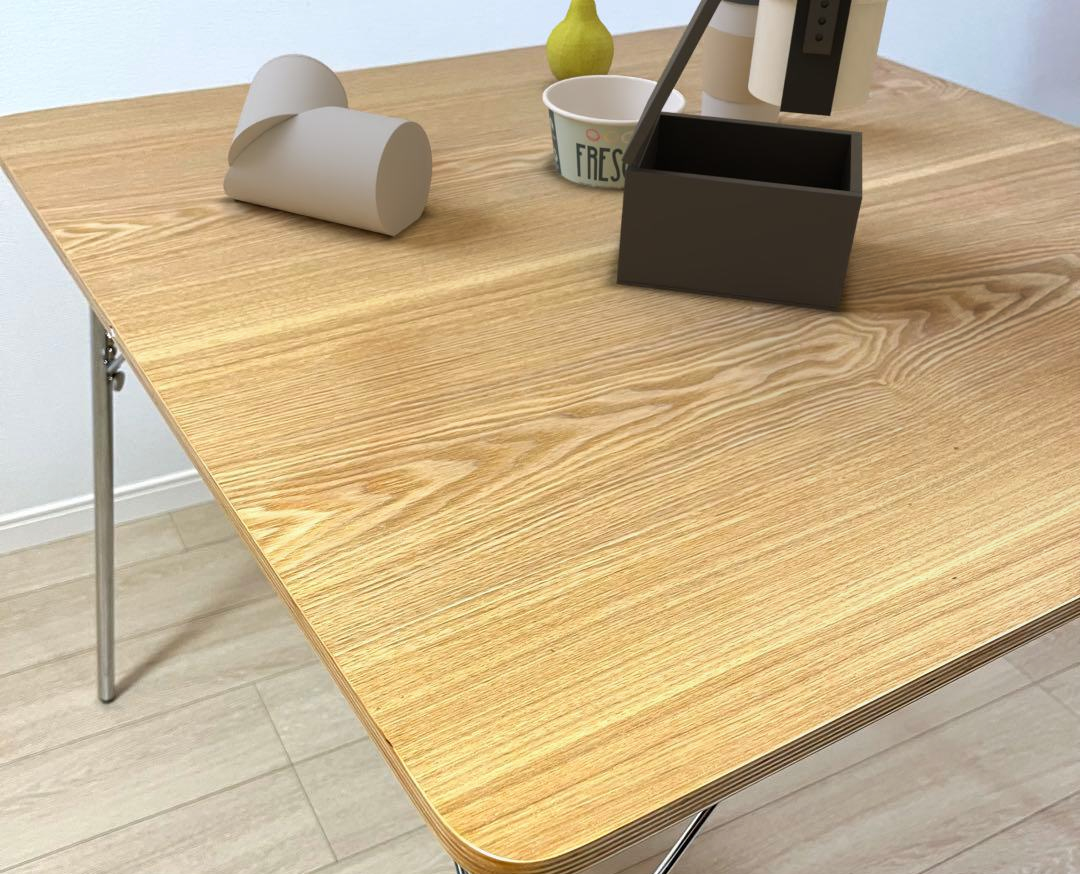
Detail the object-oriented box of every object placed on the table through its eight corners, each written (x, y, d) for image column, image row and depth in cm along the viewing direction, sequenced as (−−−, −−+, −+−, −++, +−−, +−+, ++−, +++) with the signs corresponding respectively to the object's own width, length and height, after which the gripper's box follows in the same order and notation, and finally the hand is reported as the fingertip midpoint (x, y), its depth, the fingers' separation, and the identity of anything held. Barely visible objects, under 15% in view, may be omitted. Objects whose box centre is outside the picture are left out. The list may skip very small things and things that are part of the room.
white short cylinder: (875, 77, 68) (897, -33, 64) (879, 120, 62) (904, 1, 58) (743, 66, 69) (757, -43, 65) (734, 108, 63) (749, -10, 59)
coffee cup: (762, 160, 102) (790, -21, 93) (672, 138, 106) (690, -38, 97) (799, 131, 109) (829, -41, 99) (713, 112, 112) (734, -57, 103)
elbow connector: (143, 195, 89) (363, 247, 83) (137, 49, 84) (370, 94, 78) (277, 171, 104) (473, 214, 97) (279, 46, 99) (485, 83, 93)
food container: (660, 146, 104) (667, 73, 100) (693, 198, 95) (703, 119, 91) (530, 150, 103) (532, 75, 98) (552, 203, 93) (555, 123, 89)
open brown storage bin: (838, 244, 89) (862, 131, 83) (836, 319, 79) (862, 197, 74) (641, 221, 91) (651, 110, 86) (615, 290, 82) (625, 170, 76)
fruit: (612, 100, 114) (621, -31, 106) (543, 97, 114) (548, -34, 106) (610, 78, 119) (619, -48, 112) (545, 76, 119) (549, -50, 112)
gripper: (813, -432, 59) (750, 33, 73) (805, -453, 43) (727, 143, 58) (962, -428, 58) (869, 42, 72) (1009, -448, 42) (879, 158, 57)
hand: (806, 87), depth 65 cm, fingers closed on white short cylinder, 8 cm apart
